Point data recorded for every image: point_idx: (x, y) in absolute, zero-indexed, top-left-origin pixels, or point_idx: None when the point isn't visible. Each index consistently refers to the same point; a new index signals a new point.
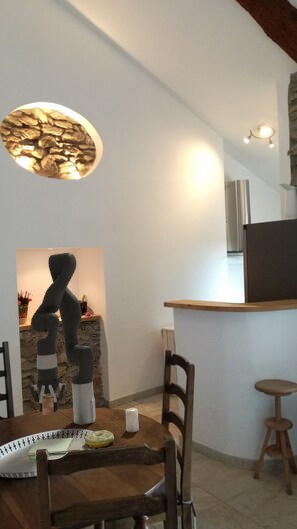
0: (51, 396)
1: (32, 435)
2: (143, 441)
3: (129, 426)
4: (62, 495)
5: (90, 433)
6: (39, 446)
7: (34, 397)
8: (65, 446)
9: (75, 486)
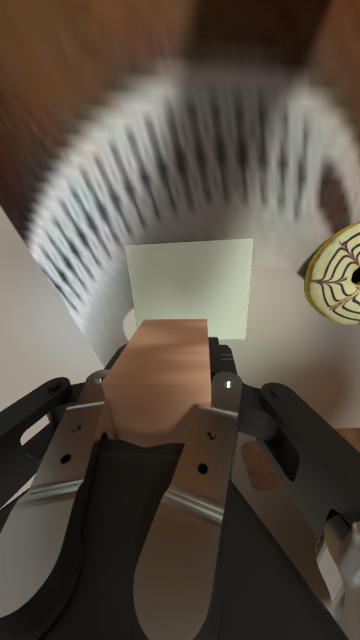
0: (181, 414)
1: (76, 163)
2: None
3: None
4: (260, 476)
5: (337, 266)
6: (155, 302)
7: (44, 447)
8: (237, 311)
9: None
